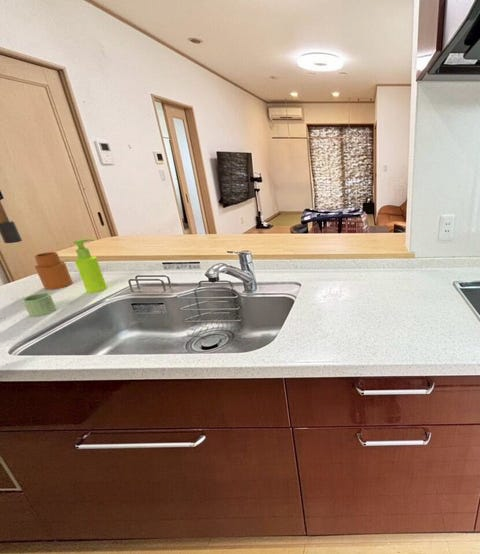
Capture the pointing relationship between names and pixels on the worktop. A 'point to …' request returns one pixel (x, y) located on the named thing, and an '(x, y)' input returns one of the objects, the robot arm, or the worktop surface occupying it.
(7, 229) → the brush
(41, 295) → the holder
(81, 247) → the soap dispenser
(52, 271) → the orange brown jar
